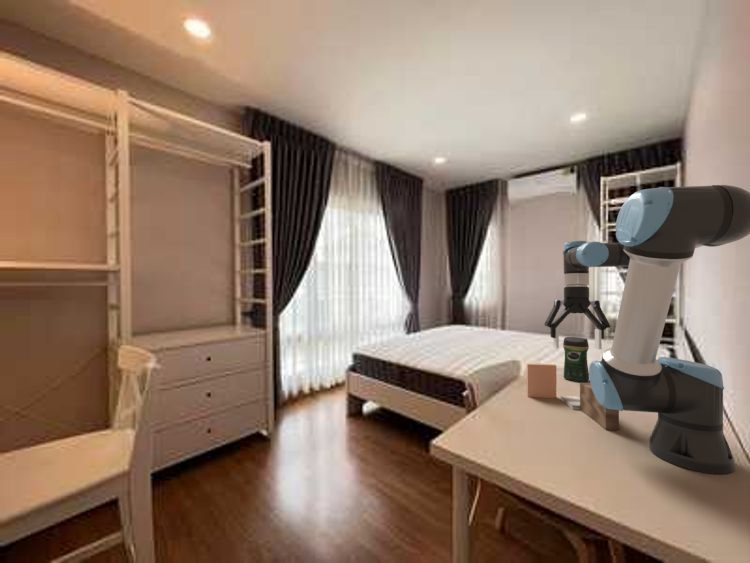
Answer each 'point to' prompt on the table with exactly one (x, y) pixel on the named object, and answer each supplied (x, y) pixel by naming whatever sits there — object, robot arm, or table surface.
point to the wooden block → (593, 408)
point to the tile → (541, 380)
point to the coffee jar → (576, 359)
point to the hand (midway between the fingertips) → (577, 348)
